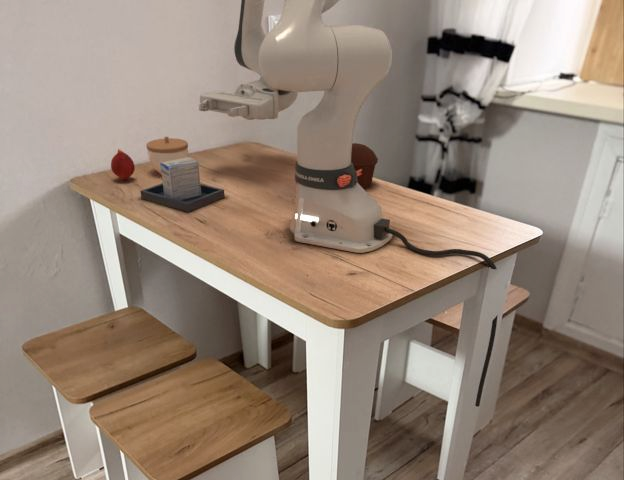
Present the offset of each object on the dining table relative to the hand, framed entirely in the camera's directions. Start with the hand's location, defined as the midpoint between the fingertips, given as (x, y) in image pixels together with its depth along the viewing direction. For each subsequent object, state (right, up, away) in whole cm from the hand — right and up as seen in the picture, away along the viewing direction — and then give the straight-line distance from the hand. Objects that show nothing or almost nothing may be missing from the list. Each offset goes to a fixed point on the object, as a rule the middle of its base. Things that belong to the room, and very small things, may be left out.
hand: (215, 110), depth 145 cm
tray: (-8, -21, +1) cm, 23 cm away
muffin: (+34, -15, +11) cm, 39 cm away
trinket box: (-15, -10, +18) cm, 25 cm away
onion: (-25, -14, +12) cm, 31 cm away
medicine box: (-8, -21, +1) cm, 23 cm away
